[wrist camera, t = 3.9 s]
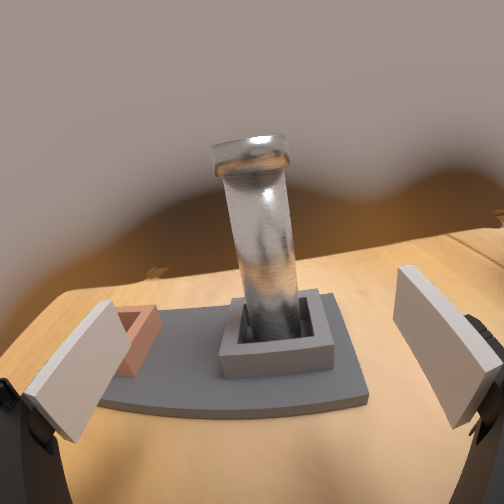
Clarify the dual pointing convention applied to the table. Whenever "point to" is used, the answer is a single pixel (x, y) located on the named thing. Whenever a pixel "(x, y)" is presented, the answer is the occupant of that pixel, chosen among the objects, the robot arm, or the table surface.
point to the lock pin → (262, 232)
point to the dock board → (235, 363)
